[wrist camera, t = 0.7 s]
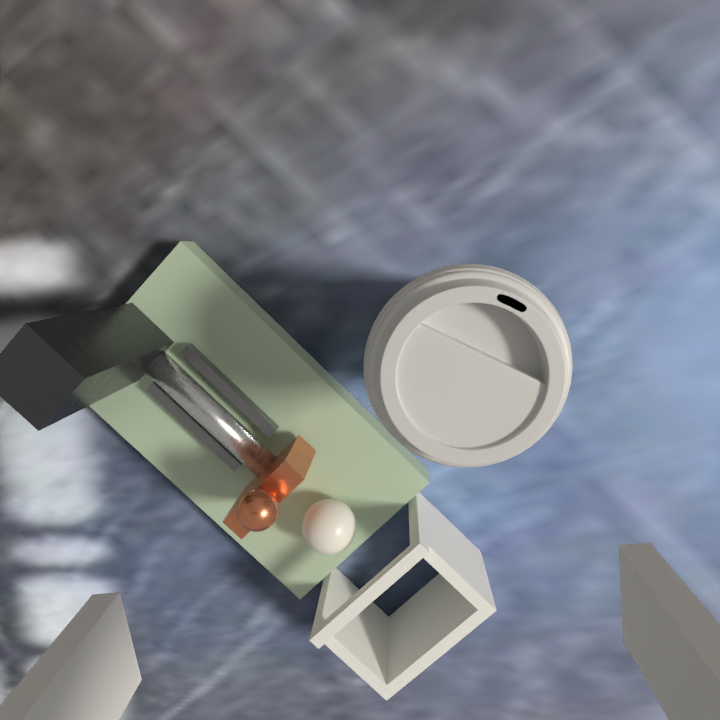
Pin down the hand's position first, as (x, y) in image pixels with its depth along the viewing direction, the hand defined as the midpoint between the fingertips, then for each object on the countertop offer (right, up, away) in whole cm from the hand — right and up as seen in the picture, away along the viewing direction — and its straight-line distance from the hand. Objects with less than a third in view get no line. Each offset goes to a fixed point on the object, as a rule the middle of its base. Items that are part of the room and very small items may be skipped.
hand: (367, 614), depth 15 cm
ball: (-2, -5, +23) cm, 23 cm away
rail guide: (-10, +4, +24) cm, 26 cm away
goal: (+3, -8, +28) cm, 29 cm away
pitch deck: (-8, +2, +26) cm, 28 cm away
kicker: (-10, +4, +23) cm, 26 cm away
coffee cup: (+6, +9, +24) cm, 26 cm away
